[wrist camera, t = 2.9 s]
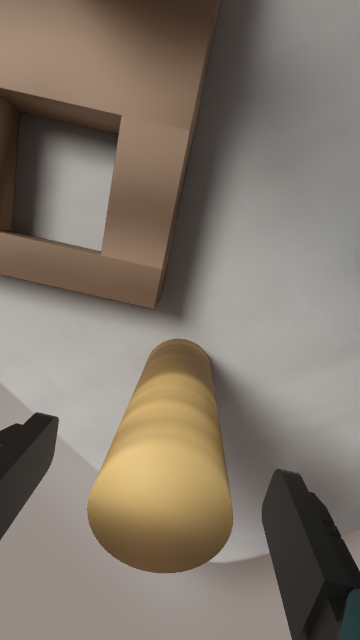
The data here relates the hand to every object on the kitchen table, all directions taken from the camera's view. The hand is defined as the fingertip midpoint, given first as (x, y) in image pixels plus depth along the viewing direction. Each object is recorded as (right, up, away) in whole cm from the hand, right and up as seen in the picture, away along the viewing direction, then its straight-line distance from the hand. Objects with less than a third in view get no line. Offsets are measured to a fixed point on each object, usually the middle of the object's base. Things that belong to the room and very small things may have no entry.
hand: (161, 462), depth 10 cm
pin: (+1, +2, +7) cm, 8 cm away
